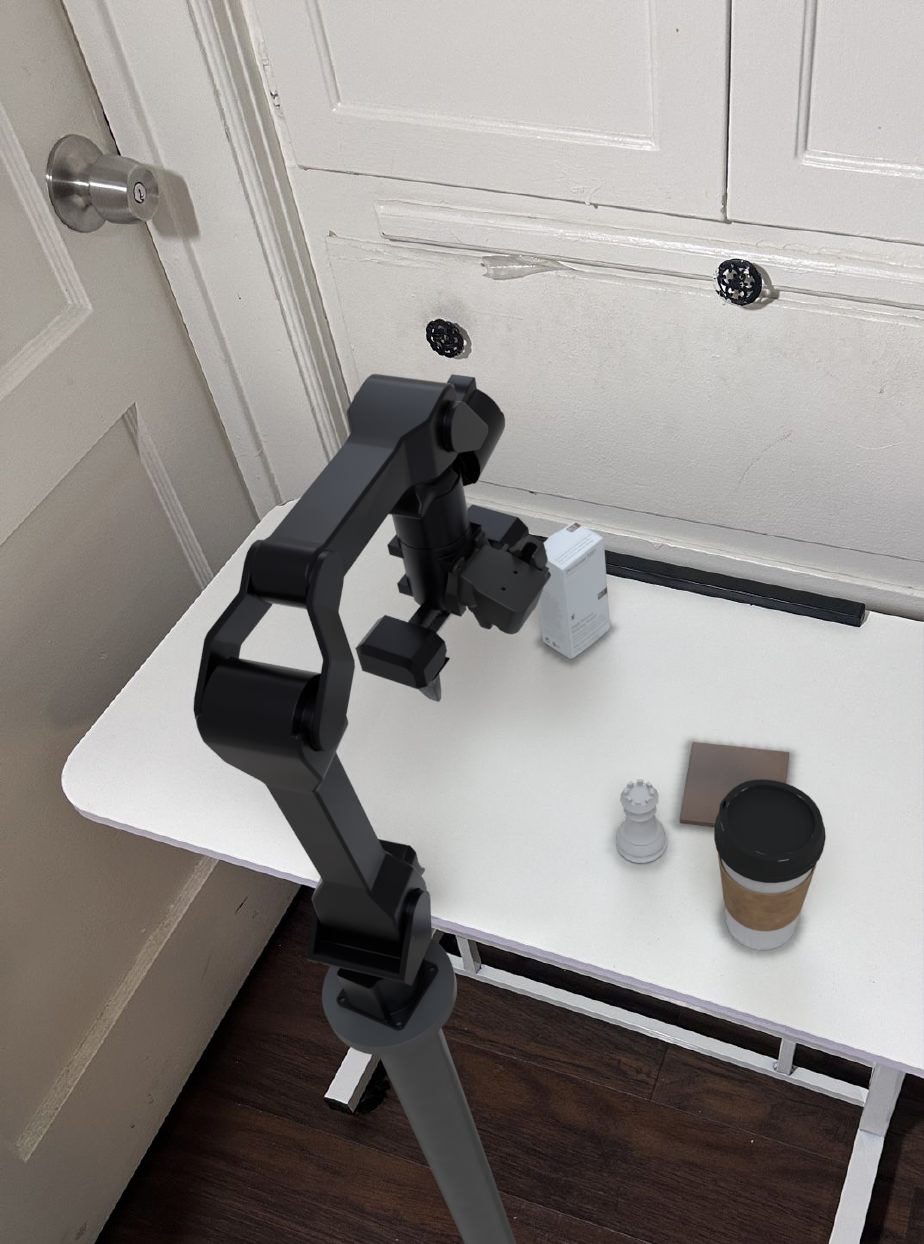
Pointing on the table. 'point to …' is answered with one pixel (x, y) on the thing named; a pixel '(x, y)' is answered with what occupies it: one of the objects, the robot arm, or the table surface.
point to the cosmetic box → (574, 591)
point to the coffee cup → (766, 859)
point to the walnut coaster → (724, 777)
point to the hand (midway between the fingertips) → (461, 662)
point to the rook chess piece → (640, 824)
